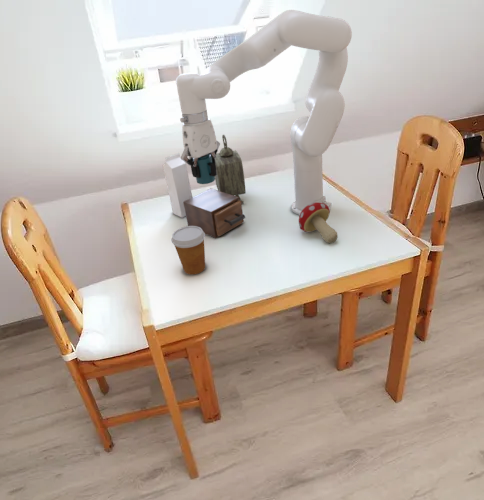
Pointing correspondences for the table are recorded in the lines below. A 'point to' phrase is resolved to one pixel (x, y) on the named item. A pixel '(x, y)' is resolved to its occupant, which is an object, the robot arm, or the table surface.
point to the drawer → (228, 217)
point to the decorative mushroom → (317, 221)
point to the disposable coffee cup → (190, 248)
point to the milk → (177, 183)
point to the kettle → (206, 169)
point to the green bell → (229, 172)
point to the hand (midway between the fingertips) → (204, 173)
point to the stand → (207, 209)
